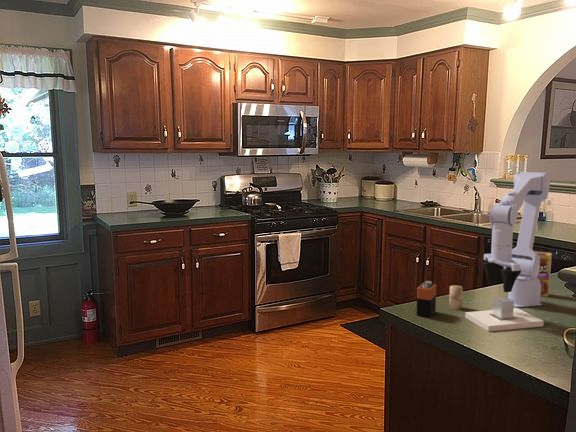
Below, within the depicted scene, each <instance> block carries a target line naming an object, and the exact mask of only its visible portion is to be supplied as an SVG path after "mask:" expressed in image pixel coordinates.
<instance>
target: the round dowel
mask: <svg viewBox="0 0 576 432" xmlns="http://www.w3.org/2000/svg"><path fill="white" fill-rule="evenodd" d="M463 289H464V287H463V286H462V285H455V284H454V285H450V286H449V297H448V301H449V302H448V308H449V309H450V310H457V311H458V310H459V311H460V310H462V309H463V295H464V294H463V291H464V290H463Z"/></svg>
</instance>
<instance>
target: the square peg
mask: <svg viewBox="0 0 576 432" xmlns="http://www.w3.org/2000/svg"><path fill="white" fill-rule="evenodd" d="M492 301H493V302H492V303H493V304H492V310H493V317H495V318H497V319H499V320H500V321H503V320H513V308H514V307H515V306H514V301H513V300H511V299H509V298H508V296H507V297H506V296H501V297H499V296H498V297H493V300H492Z"/></svg>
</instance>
